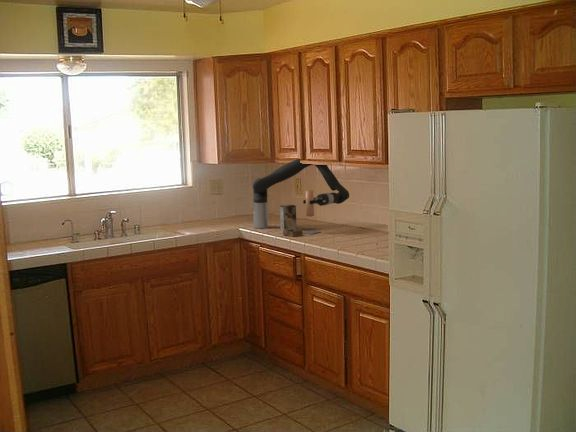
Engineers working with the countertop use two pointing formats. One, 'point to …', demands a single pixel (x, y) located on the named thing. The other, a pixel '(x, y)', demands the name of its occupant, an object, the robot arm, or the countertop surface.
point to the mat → (311, 232)
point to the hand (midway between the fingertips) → (306, 202)
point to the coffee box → (288, 217)
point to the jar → (309, 206)
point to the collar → (292, 232)
